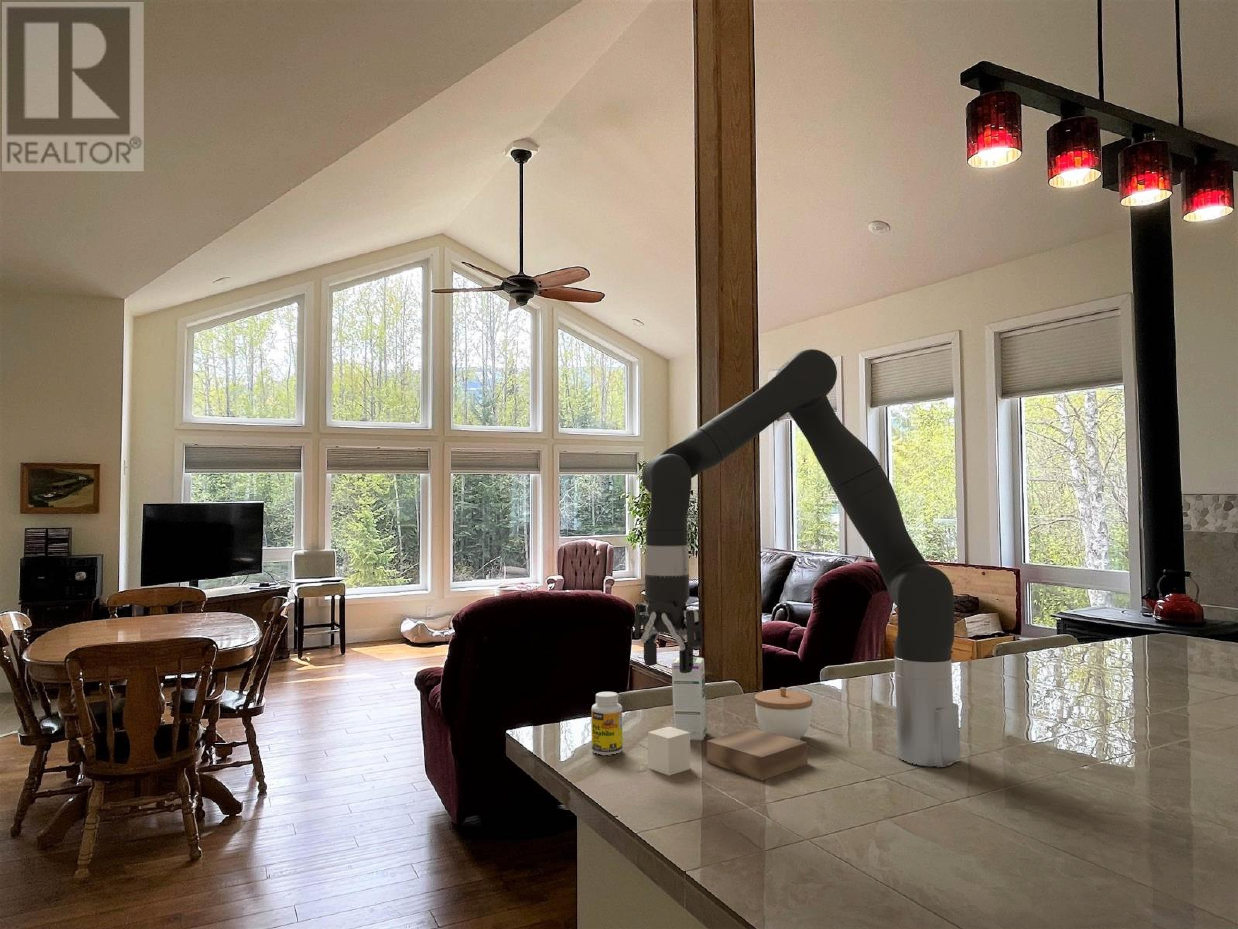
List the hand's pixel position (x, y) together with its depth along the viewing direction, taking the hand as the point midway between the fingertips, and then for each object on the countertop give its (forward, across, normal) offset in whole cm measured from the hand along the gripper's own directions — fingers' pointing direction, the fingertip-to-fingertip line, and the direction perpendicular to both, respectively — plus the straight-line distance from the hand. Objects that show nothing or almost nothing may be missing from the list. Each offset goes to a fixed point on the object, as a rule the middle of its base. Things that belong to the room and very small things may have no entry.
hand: (667, 668), depth 133 cm
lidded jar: (+17, -2, -28) cm, 33 cm away
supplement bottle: (+17, +14, +2) cm, 22 cm away
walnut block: (+17, -8, -13) cm, 23 cm away
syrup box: (+17, +11, -16) cm, 26 cm away
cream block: (+16, 0, 0) cm, 17 cm away
